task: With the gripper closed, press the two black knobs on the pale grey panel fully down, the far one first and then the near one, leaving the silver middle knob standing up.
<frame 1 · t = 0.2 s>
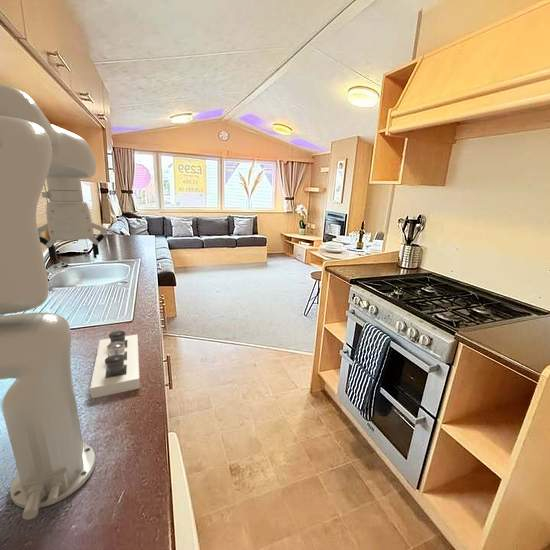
hand: (75, 258, 86), 30 cm above the counter, tool pointing down, fingers open, 9 cm apart
knob middle: (116, 351, 87), point 5 cm above the counter, slide at 0.0 cm
knob near: (115, 365, 81), point 5 cm above the counter, slide at 0.0 cm
panel: (118, 366, 89), on the counter
knob far: (117, 339, 94), point 5 cm above the counter, slide at 0.0 cm
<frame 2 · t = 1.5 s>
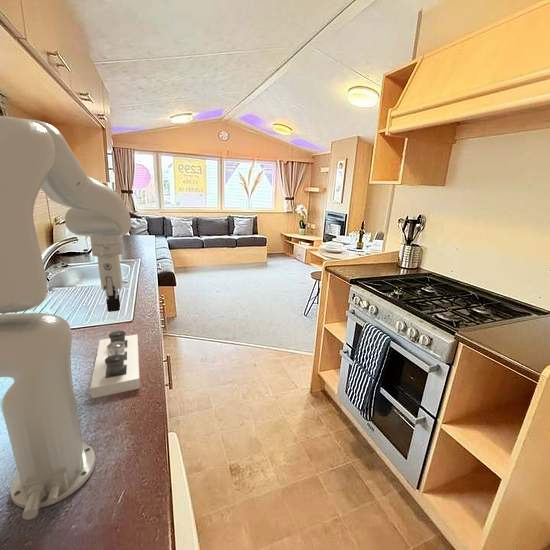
hand: (114, 308, 91), 15 cm above the counter, tool pointing down, fingers closed
nothing on the counter moved.
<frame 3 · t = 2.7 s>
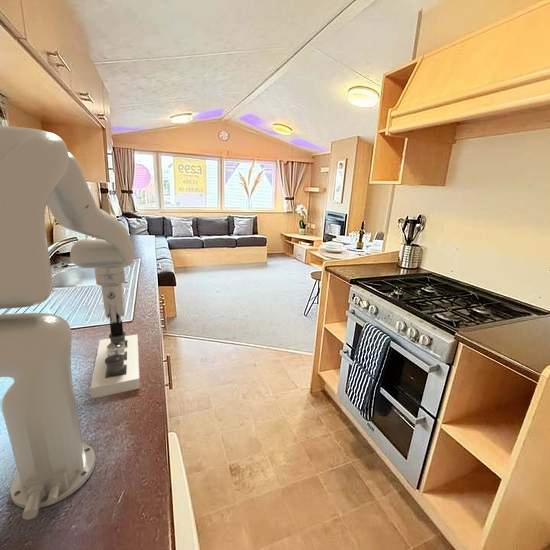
hand: (117, 333, 94), 7 cm above the counter, tool pointing down, fingers closed
knob far: (117, 340, 94), point 5 cm above the counter, slide at 0.1 cm, touching gripper
everything else where it was.
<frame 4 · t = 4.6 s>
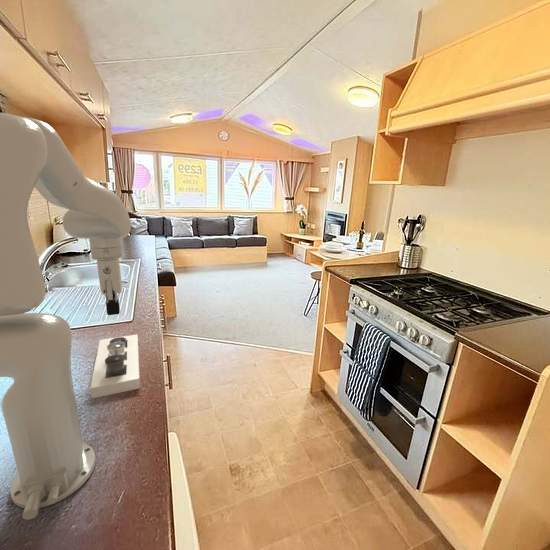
hand: (113, 313, 89), 15 cm above the counter, tool pointing down, fingers closed
knob far: (118, 346, 95), point 2 cm above the counter, slide at 2.3 cm
everything else where it was.
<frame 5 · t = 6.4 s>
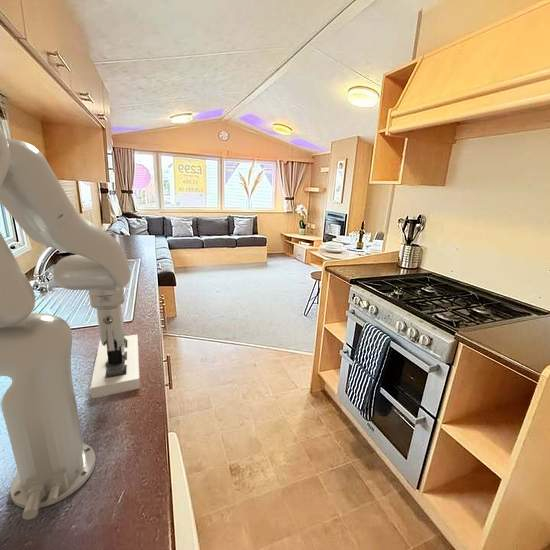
hand: (115, 361, 81), 6 cm above the counter, tool pointing down, fingers closed
knob near: (116, 369, 81), point 4 cm above the counter, slide at 1.1 cm, touching gripper
everything else where it was.
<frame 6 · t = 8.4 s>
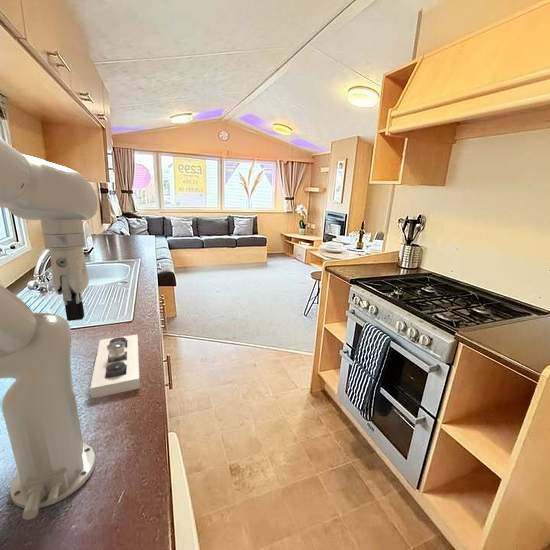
hand: (76, 318, 71), 21 cm above the counter, tool pointing down, fingers closed
knob near: (116, 373, 81), point 2 cm above the counter, slide at 2.4 cm
everything else where it was.
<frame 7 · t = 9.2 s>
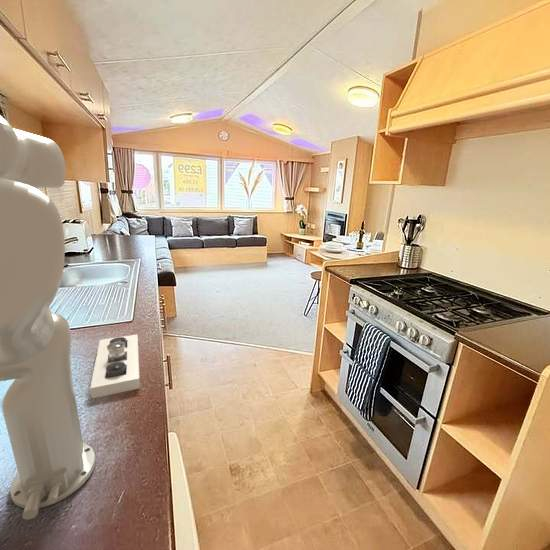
hand: (35, 298, 65), 27 cm above the counter, tool pointing down, fingers closed
nothing on the counter moved.
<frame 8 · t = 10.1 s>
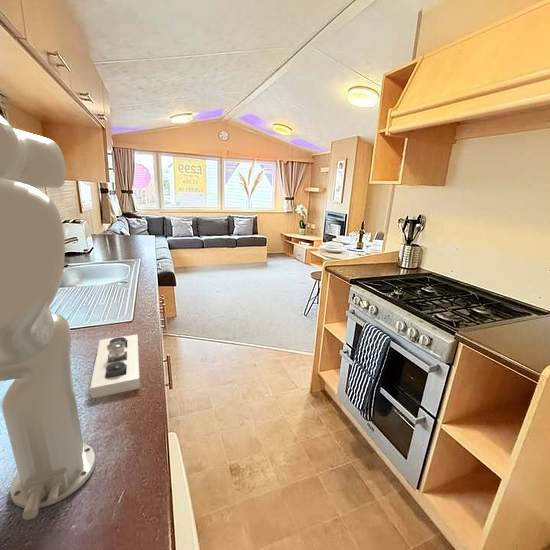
hand: (35, 298, 65), 27 cm above the counter, tool pointing down, fingers closed
nothing on the counter moved.
at the end: knob far slide at 2.3 cm; knob near slide at 2.4 cm; knob middle slide at 0.0 cm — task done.
